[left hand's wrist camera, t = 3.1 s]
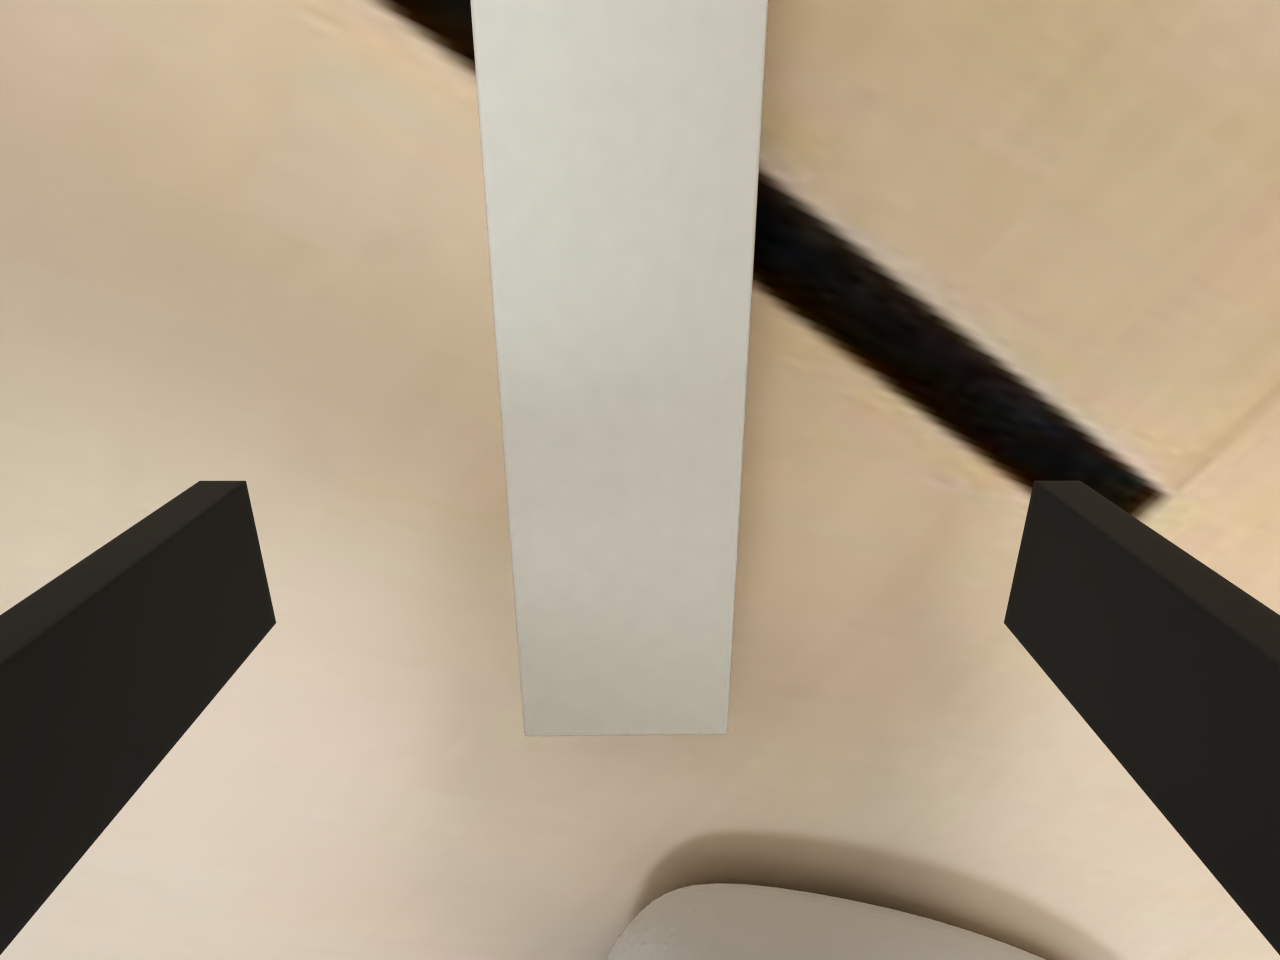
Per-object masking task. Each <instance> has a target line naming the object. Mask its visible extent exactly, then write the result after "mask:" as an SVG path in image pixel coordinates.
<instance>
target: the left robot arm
mask: <svg viewBox="0 0 1280 960" xmlns="http://www.w3.org/2000/svg"><path fill="white" fill-rule="evenodd" d="M275 624H276V620H275V616H274V611H273V606H272V602H271V597H270V592H269V588H268V583H267V578H266V573H265V569H264V564H263V559H262V555H261V550H260V545H259V541H258V536H257V531H256V526H255V522H254V517H253V512H252V508H251V503H250V498H249V493H248V489H247V484H246V481H199V482H198V483H196V484H195V485H193V486H192V487H190V488H189V489H187V490H186V491H184V492H183V493H181V494H180V495H178V496H177V497H175V498H174V499H172V500H171V501H169V502H168V503H166V504H165V505H163V506H162V507H160V508H159V509H157V510H156V511H154V512H153V513H152V514H150V515H149V516H147V517H146V518H144V519H143V520H141V521H140V522H138V523H137V524H135V525H134V526H132V527H131V528H129V529H128V530H126V531H125V532H123V533H122V534H120V535H119V536H117V537H116V538H114V539H113V540H111V541H110V542H108V543H107V544H106V545H104V546H103V547H101V548H100V549H98V550H97V551H95V552H94V553H92V554H91V555H89V556H88V557H86V558H85V559H83V560H82V561H80V562H79V563H77V564H76V565H74V566H73V567H71V568H70V569H68V570H67V571H65V572H64V573H62V574H61V575H59V576H58V577H57V578H55V579H54V580H52V581H51V582H49V583H48V584H46V585H45V586H43V587H42V588H40V589H39V590H37V591H36V592H34V593H33V594H31V595H30V596H28V597H27V598H25V599H24V600H22V601H21V602H19V603H18V604H16V605H15V606H13V607H12V608H10V609H9V610H8V611H6V612H5V613H3V614H2V615H0V955H1V954H2V952H3V951H4V950H5V949H6V948H7V946H8V945H9V944H10V943H11V942H12V940H13V939H14V938H15V937H16V936H17V934H18V933H19V932H20V931H21V929H22V928H23V927H24V926H25V925H26V923H27V922H28V921H29V920H30V919H31V917H32V916H33V915H34V914H35V913H36V911H37V910H38V909H39V908H40V907H41V905H42V904H43V903H44V902H45V901H46V899H47V898H48V897H49V896H50V895H51V893H52V892H53V891H54V890H55V889H56V887H57V886H58V885H59V884H60V883H61V881H62V880H63V879H64V878H65V876H66V875H67V874H68V873H69V872H70V870H71V869H72V868H73V867H74V866H75V864H76V863H77V862H78V861H79V860H80V858H81V857H82V856H83V855H84V854H85V852H86V851H87V850H88V849H89V848H90V846H91V845H92V844H93V843H94V842H95V840H96V839H97V838H98V837H99V836H100V834H101V833H102V832H103V831H104V830H105V828H106V827H107V826H108V825H109V823H110V822H111V821H112V820H113V819H114V817H115V816H116V815H117V814H118V813H119V811H120V810H121V809H122V808H123V807H124V805H125V804H126V803H127V802H128V801H129V799H130V798H131V797H132V796H133V795H134V793H135V792H136V791H137V790H138V789H139V787H140V786H141V785H142V784H143V783H144V781H145V780H146V779H147V778H148V777H149V775H150V774H151V773H152V772H153V770H154V769H155V768H156V767H157V766H158V764H159V763H160V762H161V761H162V760H163V758H164V757H165V756H166V755H167V754H168V752H169V751H170V750H171V749H172V748H173V746H174V745H175V744H176V743H177V742H178V740H179V739H180V738H181V737H182V736H183V734H184V733H185V732H186V731H187V730H188V728H189V727H190V726H191V725H192V723H193V722H194V721H195V720H196V719H197V717H198V716H199V715H200V714H201V713H202V711H203V710H204V709H205V708H206V707H207V705H208V704H209V703H210V702H211V701H212V699H213V698H214V697H215V696H216V695H217V693H218V692H219V691H220V690H221V689H222V687H223V686H224V685H225V684H226V683H227V681H228V680H229V679H230V678H231V677H232V675H233V674H234V673H235V672H236V670H237V669H238V668H239V667H240V666H241V664H242V663H243V662H244V661H245V660H246V658H247V657H248V656H249V655H250V654H251V652H252V651H253V650H254V649H255V648H256V646H257V645H258V644H259V643H260V642H261V640H262V639H263V638H264V637H265V636H266V634H267V633H268V632H269V631H270V630H271V628H272V627H273V626H274V625H275ZM1004 624H1005V625H1006V626H1007V627H1008V628H1009V630H1010V631H1011V632H1012V633H1013V634H1014V636H1015V637H1016V638H1017V639H1018V640H1019V642H1020V643H1021V644H1022V645H1023V646H1024V648H1025V649H1026V650H1027V651H1028V652H1029V654H1030V655H1031V656H1032V657H1033V658H1034V660H1035V661H1036V662H1037V663H1038V664H1039V666H1040V667H1041V668H1042V669H1043V670H1044V672H1045V673H1046V674H1047V675H1048V677H1049V678H1050V679H1051V680H1052V681H1053V683H1054V684H1055V685H1056V686H1057V687H1058V689H1059V690H1060V691H1061V692H1062V693H1063V695H1064V696H1065V697H1066V698H1067V699H1068V701H1069V702H1070V703H1071V704H1072V705H1073V707H1074V708H1075V709H1076V710H1077V711H1078V713H1079V714H1080V715H1081V716H1082V717H1083V719H1084V720H1085V721H1086V722H1087V723H1088V725H1089V726H1090V727H1091V728H1092V730H1093V731H1094V732H1095V733H1096V734H1097V736H1098V737H1099V738H1100V739H1101V740H1102V742H1103V743H1104V744H1105V745H1106V746H1107V748H1108V749H1109V750H1110V751H1111V752H1112V754H1113V755H1114V756H1115V757H1116V758H1117V760H1118V761H1119V762H1120V763H1121V764H1122V766H1123V767H1124V768H1125V769H1126V770H1127V772H1128V773H1129V774H1130V775H1131V777H1132V778H1133V779H1134V780H1135V781H1136V783H1137V784H1138V785H1139V786H1140V787H1141V789H1142V790H1143V791H1144V792H1145V793H1146V795H1147V796H1148V797H1149V798H1150V799H1151V801H1152V802H1153V803H1154V804H1155V805H1156V807H1157V808H1158V809H1159V810H1160V811H1161V813H1162V814H1163V815H1164V816H1165V817H1166V819H1167V820H1168V821H1169V822H1170V823H1171V825H1172V826H1173V827H1174V828H1175V830H1176V831H1177V832H1178V833H1179V834H1180V836H1181V837H1182V838H1183V839H1184V840H1185V842H1186V843H1187V844H1188V845H1189V846H1190V848H1191V849H1192V850H1193V851H1194V852H1195V854H1196V855H1197V856H1198V857H1199V858H1200V860H1201V861H1202V862H1203V863H1204V864H1205V866H1206V867H1207V868H1208V869H1209V870H1210V872H1211V873H1212V874H1213V875H1214V876H1215V878H1216V879H1217V880H1218V881H1219V883H1220V884H1221V885H1222V886H1223V887H1224V889H1225V890H1226V891H1227V892H1228V893H1229V895H1230V896H1231V897H1232V898H1233V899H1234V901H1235V902H1236V903H1237V904H1238V905H1239V907H1240V908H1241V909H1242V910H1243V911H1244V913H1245V914H1246V915H1247V916H1248V917H1249V919H1250V920H1251V921H1252V922H1253V923H1254V925H1255V926H1256V927H1257V928H1258V929H1259V931H1260V932H1261V933H1262V934H1263V936H1264V937H1265V938H1266V939H1267V940H1268V942H1269V943H1270V944H1271V945H1272V946H1273V948H1274V949H1275V950H1276V951H1277V952H1278V954H1279V955H1280V615H1278V614H1277V613H1275V612H1274V611H1272V610H1271V609H1270V608H1268V607H1267V606H1265V605H1264V604H1262V603H1261V602H1259V601H1258V600H1256V599H1255V598H1253V597H1252V596H1250V595H1249V594H1247V593H1246V592H1244V591H1243V590H1241V589H1240V588H1238V587H1237V586H1235V585H1234V584H1232V583H1231V582H1229V581H1228V580H1226V579H1225V578H1223V577H1222V576H1221V575H1219V574H1218V573H1216V572H1215V571H1213V570H1212V569H1210V568H1209V567H1207V566H1206V565H1204V564H1203V563H1201V562H1200V561H1198V560H1197V559H1195V558H1194V557H1192V556H1191V555H1189V554H1188V553H1186V552H1185V551H1183V550H1182V549H1180V548H1179V547H1177V546H1176V545H1174V544H1173V543H1172V542H1170V541H1169V540H1167V539H1166V538H1164V537H1163V536H1161V535H1160V534H1158V533H1157V532H1155V531H1154V530H1152V529H1151V528H1149V527H1148V526H1146V525H1145V524H1143V523H1142V522H1140V521H1139V520H1137V519H1136V518H1134V517H1133V516H1131V515H1130V514H1128V513H1127V512H1126V511H1124V510H1123V509H1121V508H1120V507H1118V506H1117V505H1115V504H1114V503H1112V502H1111V501H1109V500H1108V499H1106V498H1105V497H1103V496H1102V495H1100V494H1099V493H1097V492H1096V491H1094V490H1093V489H1091V488H1090V487H1088V486H1087V485H1085V484H1084V483H1082V482H1081V481H1034V484H1033V489H1032V493H1031V498H1030V503H1029V508H1028V512H1027V517H1026V522H1025V526H1024V531H1023V536H1022V541H1021V545H1020V550H1019V555H1018V559H1017V564H1016V569H1015V573H1014V578H1013V583H1012V588H1011V592H1010V597H1009V602H1008V606H1007V611H1006V616H1005V620H1004Z"/></svg>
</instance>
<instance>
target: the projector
mask: <svg viewBox="0 0 1280 960" xmlns="http://www.w3.org/2000/svg"><path fill="white" fill-rule="evenodd" d="M606 960H1046V959H1043V958H1041V957H1039V956H1036V955H1034V954H1031V953H1029V952H1026V951H1024V950H1021V949H1019V948H1016V947H1014V946H1011V945H1009V944H1006V943H1003V942H1000V941H998V940H995V939H992V938H989V937H986V936H983V935H980V934H978V933H975V932H972V931H969V930H965V929H962V928H959V927H955V926H952V925H949V924H946V923H942V922H939V921H936V920H932V919H929V918H925V917H921V916H917V915H913V914H909V913H906V912H902V911H898V910H894V909H890V908H885V907H881V906H876V905H872V904H867V903H863V902H858V901H854V900H849V899H843V898H838V897H832V896H827V895H822V894H816V893H810V892H804V891H797V890H790V889H784V888H777V887H768V886H758V885H749V884H725V883H714V884H701V885H692V886H687V887H683V888H679V889H676V890H673V891H671V892H668V893H666V894H664V895H662V896H661V897H659V898H657V899H656V900H654V901H652V902H651V903H650V904H649V905H648V906H646V907H645V908H644V909H643V910H642V911H641V912H640V913H639V914H638V915H637V916H636V917H635V918H634V919H633V920H632V921H631V923H630V924H629V925H628V926H627V927H626V928H625V930H624V931H623V932H622V933H621V935H620V936H619V938H618V939H617V941H616V942H615V944H614V945H613V947H612V949H611V951H610V953H609V955H608V957H607V959H606Z"/></svg>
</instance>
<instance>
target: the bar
mask: <svg viewBox="0 0 1280 960" xmlns="http://www.w3.org/2000/svg"><path fill="white" fill-rule="evenodd" d="M767 10H768V0H471V12H472V26H473V40H474V53H475V67H476V81H477V94H478V108H479V121H480V135H481V149H482V162H483V176H484V190H485V203H486V217H487V230H488V244H489V258H490V271H491V285H492V299H493V312H494V326H495V340H496V353H497V367H498V380H499V394H500V408H501V421H502V435H503V449H504V462H505V476H506V489H507V503H508V517H509V530H510V544H511V558H512V571H513V585H514V599H515V612H516V626H517V639H518V653H519V667H520V680H521V694H522V708H523V721H524V733H525V735H526V736H600V735H701V734H726V733H727V729H728V711H729V693H730V675H731V657H732V639H733V621H734V603H735V585H736V567H737V549H738V531H739V513H740V495H741V477H742V459H743V441H744V423H745V405H746V388H747V370H748V352H749V334H750V316H751V298H752V280H753V262H754V244H755V226H756V208H757V190H758V172H759V154H760V136H761V118H762V100H763V82H764V64H765V46H766V28H767Z"/></svg>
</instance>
